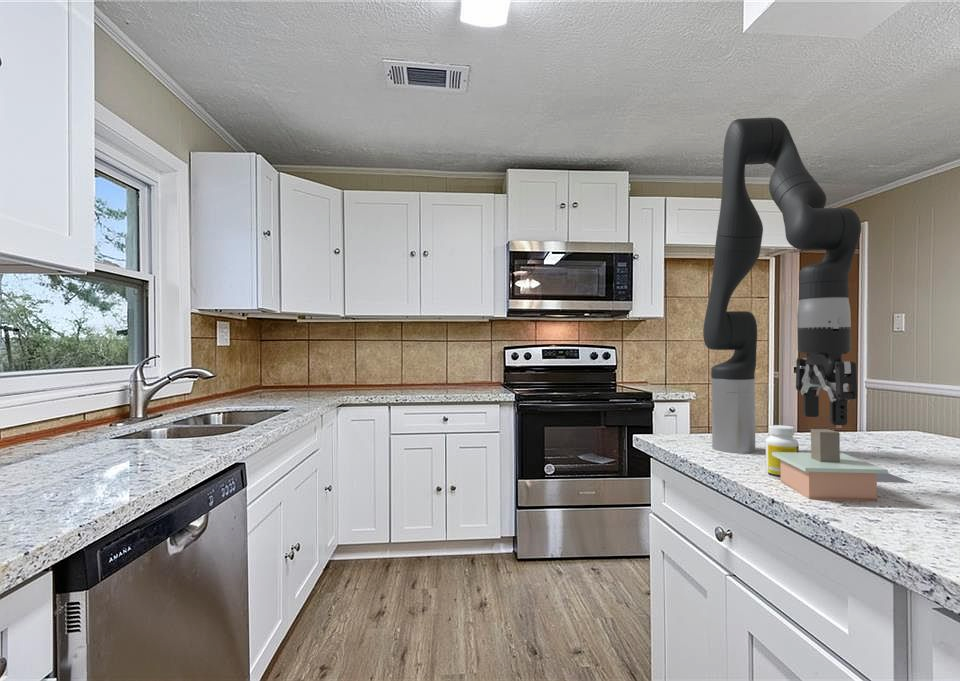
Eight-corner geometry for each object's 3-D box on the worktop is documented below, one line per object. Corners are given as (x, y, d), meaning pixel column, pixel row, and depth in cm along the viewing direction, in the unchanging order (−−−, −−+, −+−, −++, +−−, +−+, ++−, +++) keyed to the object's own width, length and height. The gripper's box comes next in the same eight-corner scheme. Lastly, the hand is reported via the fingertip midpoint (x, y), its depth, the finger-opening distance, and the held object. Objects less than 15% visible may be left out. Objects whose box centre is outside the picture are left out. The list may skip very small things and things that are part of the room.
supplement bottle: (804, 483, 92) (803, 429, 92) (771, 481, 93) (771, 428, 93) (792, 475, 97) (791, 424, 97) (761, 474, 98) (760, 424, 98)
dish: (780, 484, 91) (780, 456, 91) (840, 485, 89) (840, 457, 89) (809, 501, 81) (808, 470, 81) (877, 503, 79) (876, 471, 80)
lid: (772, 455, 92) (771, 424, 92) (843, 456, 90) (842, 425, 90) (805, 471, 80) (804, 436, 80) (887, 473, 78) (887, 437, 78)
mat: (806, 467, 103) (806, 465, 103) (870, 468, 101) (870, 466, 101) (840, 482, 91) (840, 480, 91) (913, 484, 90) (913, 482, 90)
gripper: (780, 326, 93) (781, 414, 93) (822, 324, 79) (823, 427, 79) (824, 326, 92) (825, 414, 92) (874, 324, 78) (875, 428, 78)
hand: (824, 420), depth 85 cm, fingers open, 8 cm apart
